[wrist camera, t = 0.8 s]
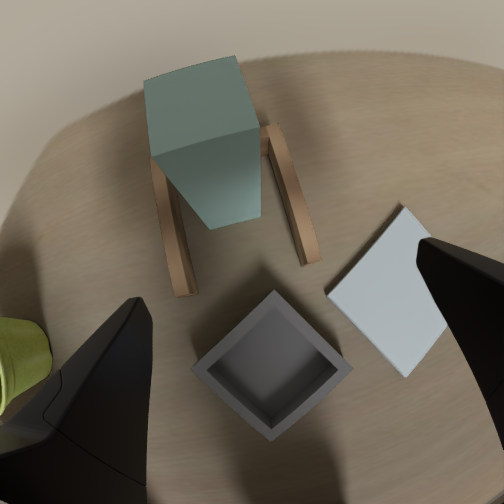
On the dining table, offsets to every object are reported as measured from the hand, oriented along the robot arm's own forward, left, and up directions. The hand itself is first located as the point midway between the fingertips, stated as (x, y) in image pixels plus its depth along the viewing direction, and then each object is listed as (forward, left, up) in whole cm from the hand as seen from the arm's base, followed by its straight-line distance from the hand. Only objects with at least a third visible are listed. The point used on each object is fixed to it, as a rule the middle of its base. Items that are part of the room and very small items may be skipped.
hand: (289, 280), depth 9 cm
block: (+2, +7, -13) cm, 15 cm away
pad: (+7, -8, -13) cm, 17 cm away
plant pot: (-22, +11, -14) cm, 28 cm away
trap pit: (-4, -4, -13) cm, 15 cm away
